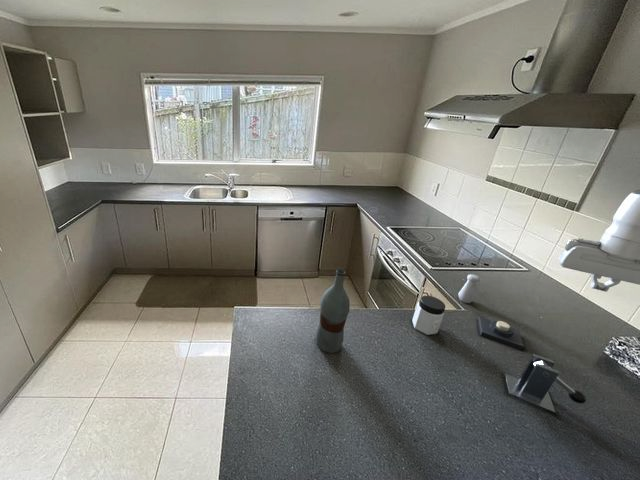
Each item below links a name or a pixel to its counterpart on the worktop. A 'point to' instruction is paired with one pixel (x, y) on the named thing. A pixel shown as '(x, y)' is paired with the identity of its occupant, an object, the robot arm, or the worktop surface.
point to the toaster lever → (567, 387)
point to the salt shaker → (469, 289)
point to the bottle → (333, 315)
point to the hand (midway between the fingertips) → (598, 289)
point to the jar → (428, 315)
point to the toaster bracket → (534, 383)
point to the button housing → (500, 334)
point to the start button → (502, 326)
